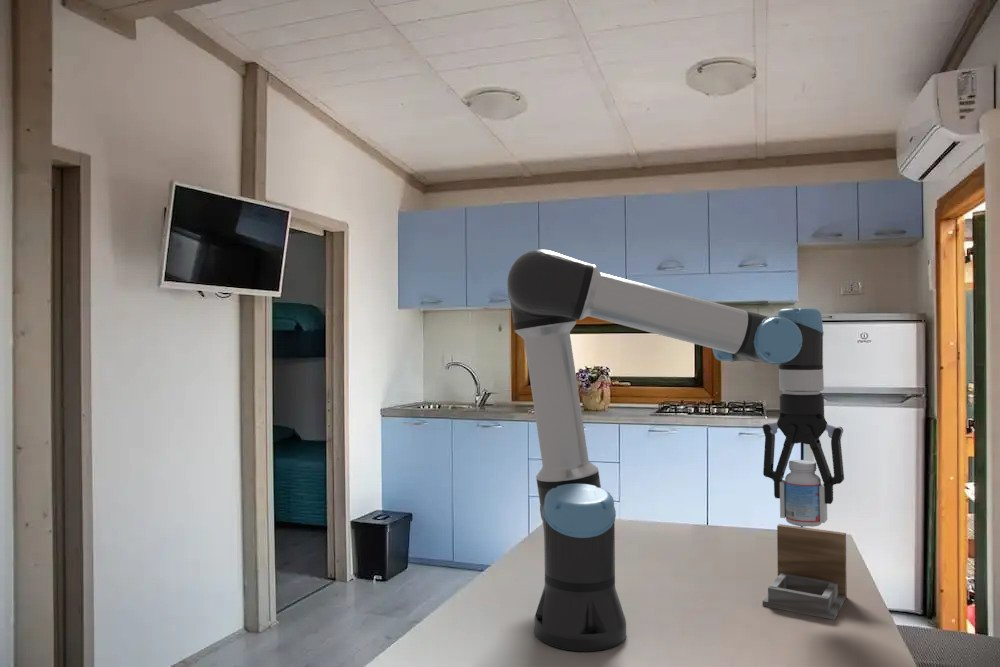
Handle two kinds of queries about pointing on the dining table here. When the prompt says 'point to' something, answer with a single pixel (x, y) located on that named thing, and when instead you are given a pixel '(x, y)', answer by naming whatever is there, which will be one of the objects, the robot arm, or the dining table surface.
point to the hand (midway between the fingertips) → (803, 518)
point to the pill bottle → (802, 494)
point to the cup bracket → (809, 572)
